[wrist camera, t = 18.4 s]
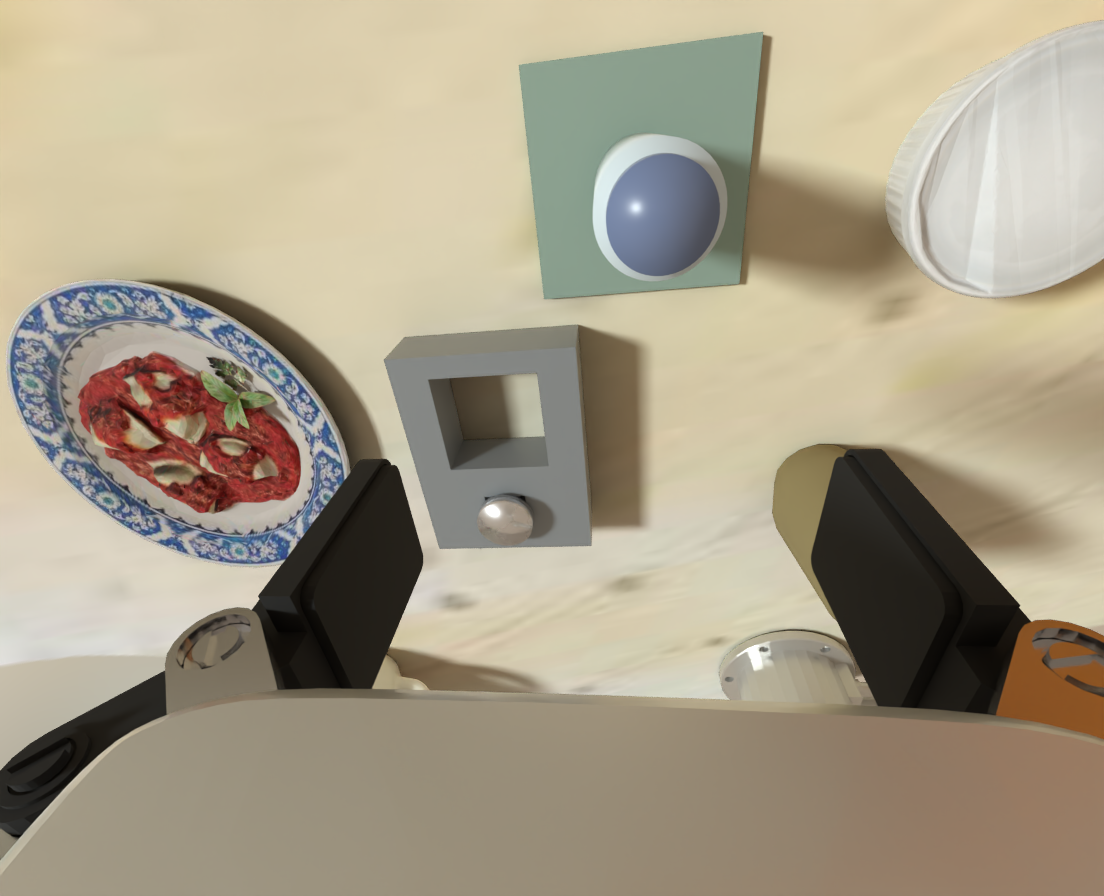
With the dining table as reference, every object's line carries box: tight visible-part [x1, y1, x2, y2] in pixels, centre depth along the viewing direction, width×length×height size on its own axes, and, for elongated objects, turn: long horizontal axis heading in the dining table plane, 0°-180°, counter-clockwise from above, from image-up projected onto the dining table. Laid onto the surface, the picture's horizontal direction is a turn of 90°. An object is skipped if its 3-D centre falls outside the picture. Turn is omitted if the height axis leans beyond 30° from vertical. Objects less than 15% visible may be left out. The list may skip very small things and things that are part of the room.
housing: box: [384, 325, 592, 549], centre depth 37 cm, size 16×12×4 cm
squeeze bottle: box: [772, 445, 848, 621], centre depth 31 cm, size 8×8×18 cm
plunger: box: [477, 494, 534, 546], centre depth 38 cm, size 4×4×4 cm
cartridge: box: [593, 132, 727, 281], centre depth 23 cm, size 5×5×12 cm
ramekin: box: [885, 20, 1104, 298], centre depth 25 cm, size 11×11×5 cm
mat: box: [519, 32, 763, 299], centre depth 29 cm, size 12×12×1 cm
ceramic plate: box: [6, 279, 351, 567], centre depth 40 cm, size 26×26×3 cm
